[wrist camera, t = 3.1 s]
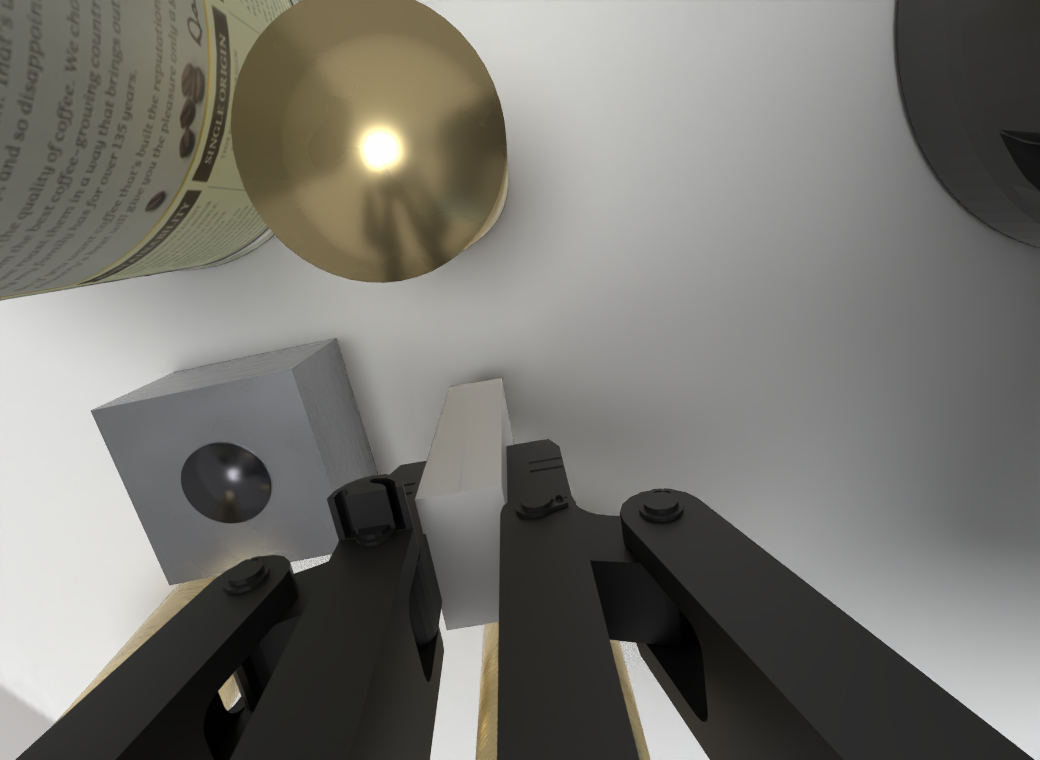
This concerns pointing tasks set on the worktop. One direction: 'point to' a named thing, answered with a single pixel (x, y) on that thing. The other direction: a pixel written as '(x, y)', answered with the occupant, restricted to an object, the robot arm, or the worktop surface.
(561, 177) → the worktop surface
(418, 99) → the brass spacer
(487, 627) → the brass spacer
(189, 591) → the brass spacer
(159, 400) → the grey square block
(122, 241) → the coffee can
